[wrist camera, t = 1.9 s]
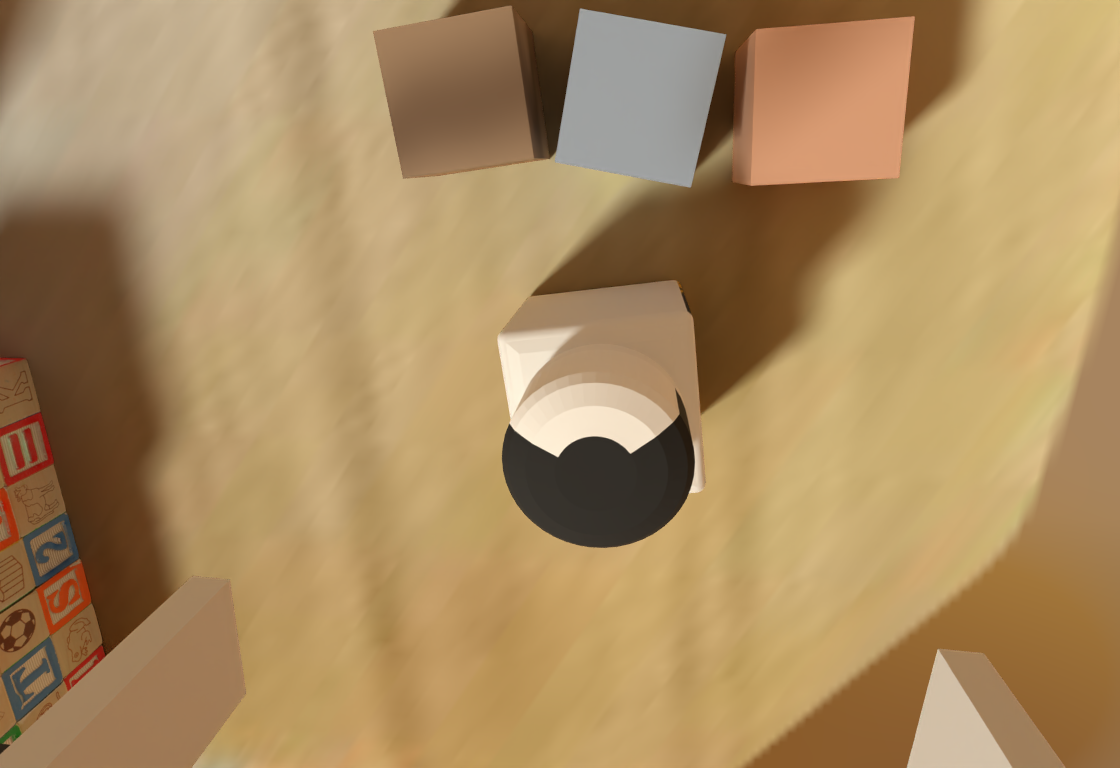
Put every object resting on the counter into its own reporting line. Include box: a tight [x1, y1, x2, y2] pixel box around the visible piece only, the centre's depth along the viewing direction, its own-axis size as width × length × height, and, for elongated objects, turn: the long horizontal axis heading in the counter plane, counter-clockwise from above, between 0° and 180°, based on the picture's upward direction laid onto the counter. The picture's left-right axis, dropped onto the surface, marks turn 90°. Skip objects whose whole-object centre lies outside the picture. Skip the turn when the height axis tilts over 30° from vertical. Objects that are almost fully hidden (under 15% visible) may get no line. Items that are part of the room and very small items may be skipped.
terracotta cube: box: [732, 16, 915, 186], centre depth 25 cm, size 5×5×5 cm
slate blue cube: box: [555, 9, 727, 188], centre depth 26 cm, size 5×5×5 cm
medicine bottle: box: [498, 280, 706, 548], centre depth 26 cm, size 7×7×12 cm
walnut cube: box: [373, 5, 550, 179], centre depth 26 cm, size 5×5×5 cm
